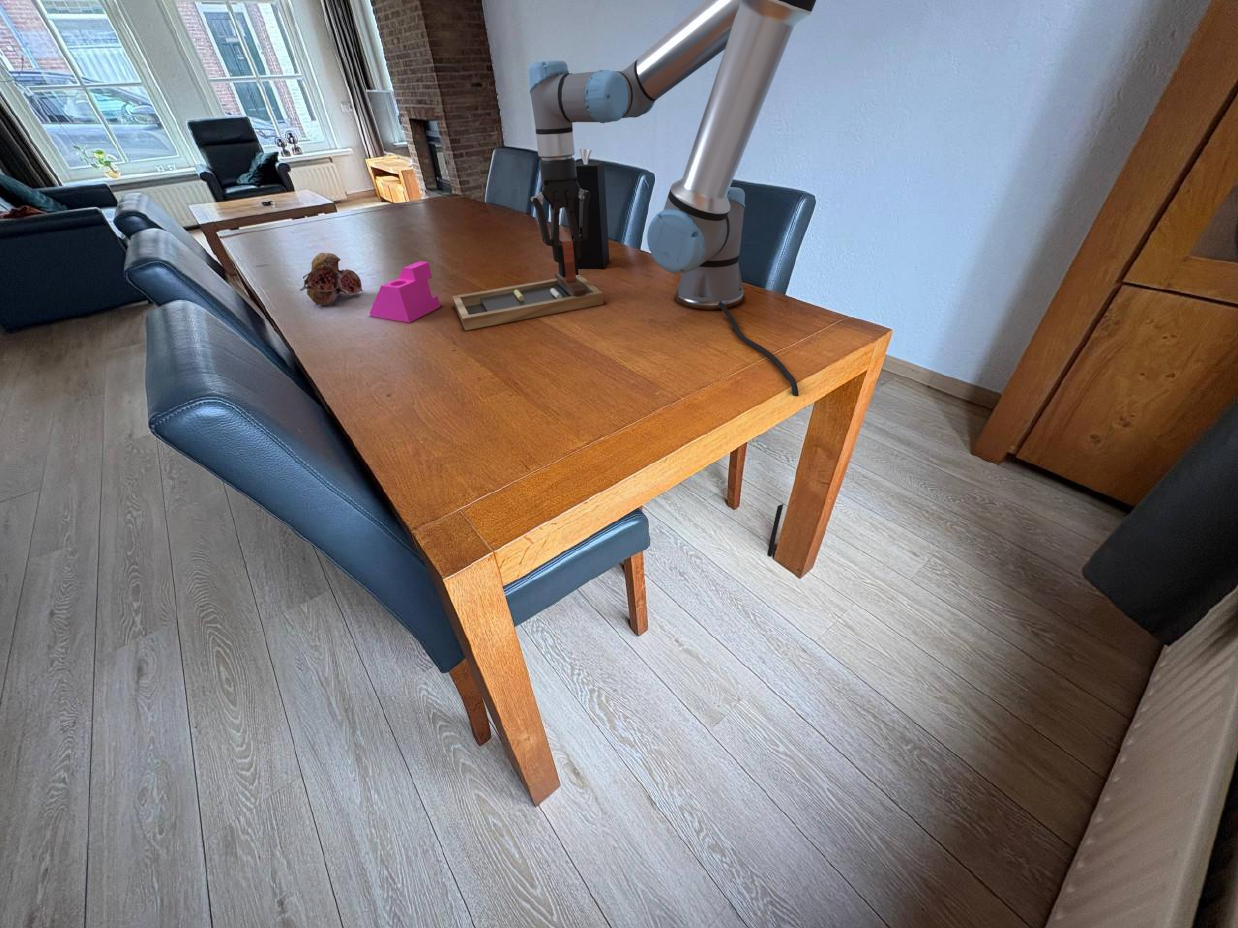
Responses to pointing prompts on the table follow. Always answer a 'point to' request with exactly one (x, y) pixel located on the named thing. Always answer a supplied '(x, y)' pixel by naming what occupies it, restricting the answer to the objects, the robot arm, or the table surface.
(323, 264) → the seed pod
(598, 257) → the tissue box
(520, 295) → the yellow chalk
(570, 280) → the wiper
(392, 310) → the bracket
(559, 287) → the slate
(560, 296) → the white chalk
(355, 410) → the table surface
